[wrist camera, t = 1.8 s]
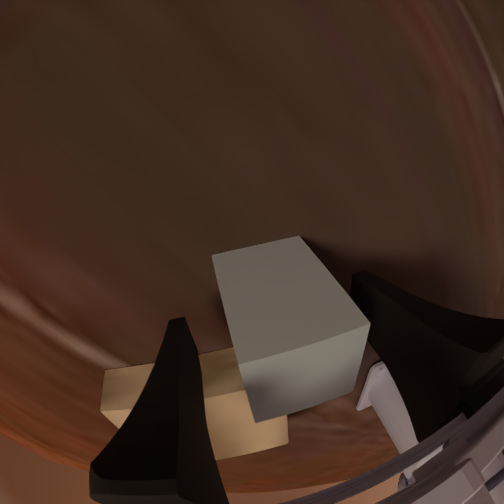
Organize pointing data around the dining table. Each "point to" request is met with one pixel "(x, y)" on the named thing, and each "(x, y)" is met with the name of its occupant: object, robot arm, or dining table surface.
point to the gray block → (289, 327)
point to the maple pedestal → (216, 405)
